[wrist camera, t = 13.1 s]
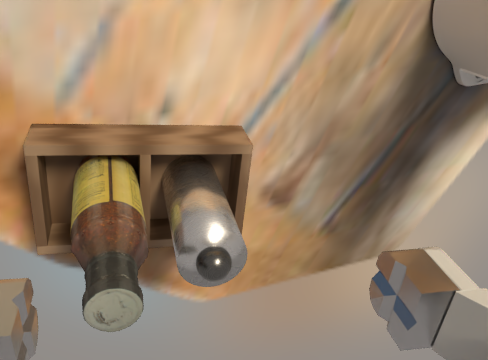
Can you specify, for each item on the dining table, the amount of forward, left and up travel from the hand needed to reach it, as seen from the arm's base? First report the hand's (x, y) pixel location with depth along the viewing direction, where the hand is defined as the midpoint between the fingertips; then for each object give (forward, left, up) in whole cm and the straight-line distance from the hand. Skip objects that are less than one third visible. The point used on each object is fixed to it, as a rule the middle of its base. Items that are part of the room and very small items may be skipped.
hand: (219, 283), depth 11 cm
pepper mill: (-5, +17, -37) cm, 41 cm away
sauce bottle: (+3, +16, -36) cm, 40 cm away
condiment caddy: (0, +17, -37) cm, 40 cm away
